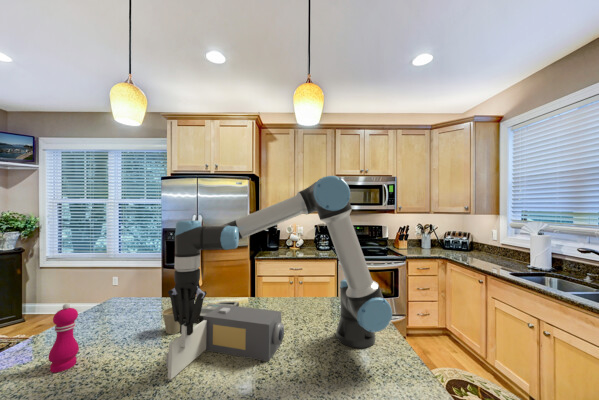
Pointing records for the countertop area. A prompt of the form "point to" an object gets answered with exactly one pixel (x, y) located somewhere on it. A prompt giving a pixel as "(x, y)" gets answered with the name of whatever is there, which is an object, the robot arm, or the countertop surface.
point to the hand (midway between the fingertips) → (186, 344)
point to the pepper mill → (64, 340)
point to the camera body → (244, 331)
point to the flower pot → (170, 322)
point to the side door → (186, 350)
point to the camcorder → (212, 306)
